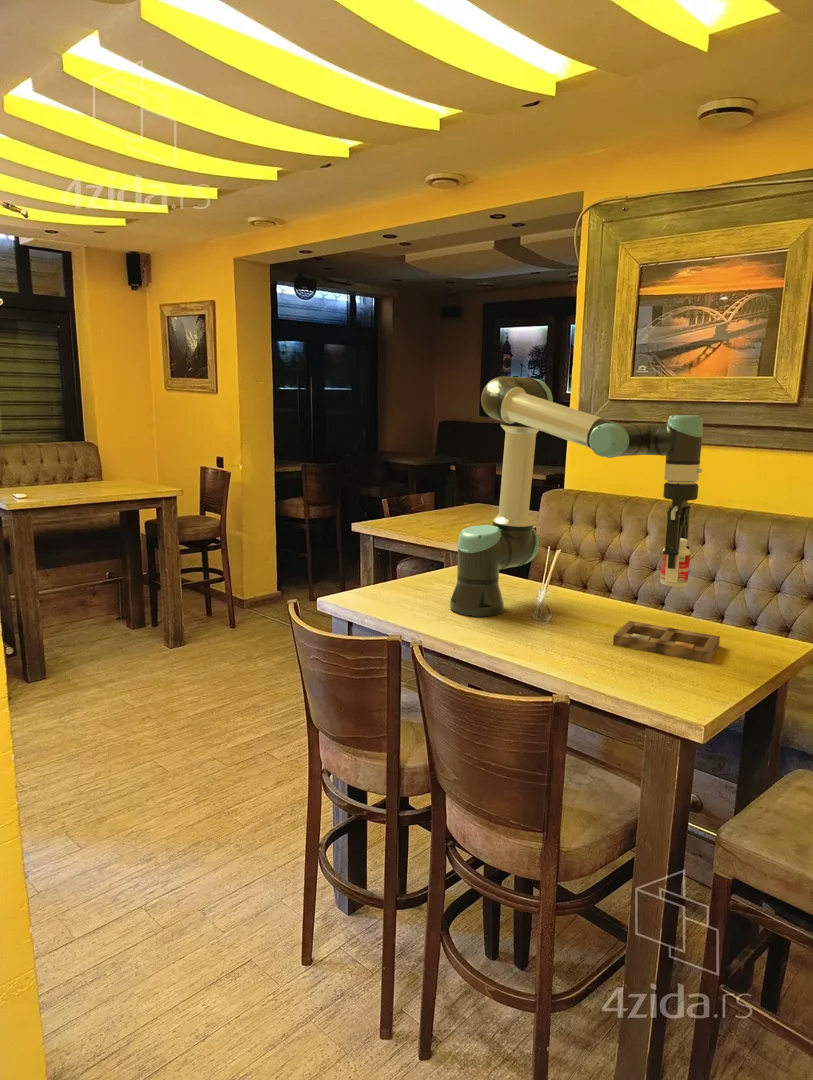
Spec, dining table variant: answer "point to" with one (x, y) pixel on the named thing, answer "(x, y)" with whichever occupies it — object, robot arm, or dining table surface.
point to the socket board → (667, 641)
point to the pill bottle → (683, 566)
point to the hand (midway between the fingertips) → (674, 578)
